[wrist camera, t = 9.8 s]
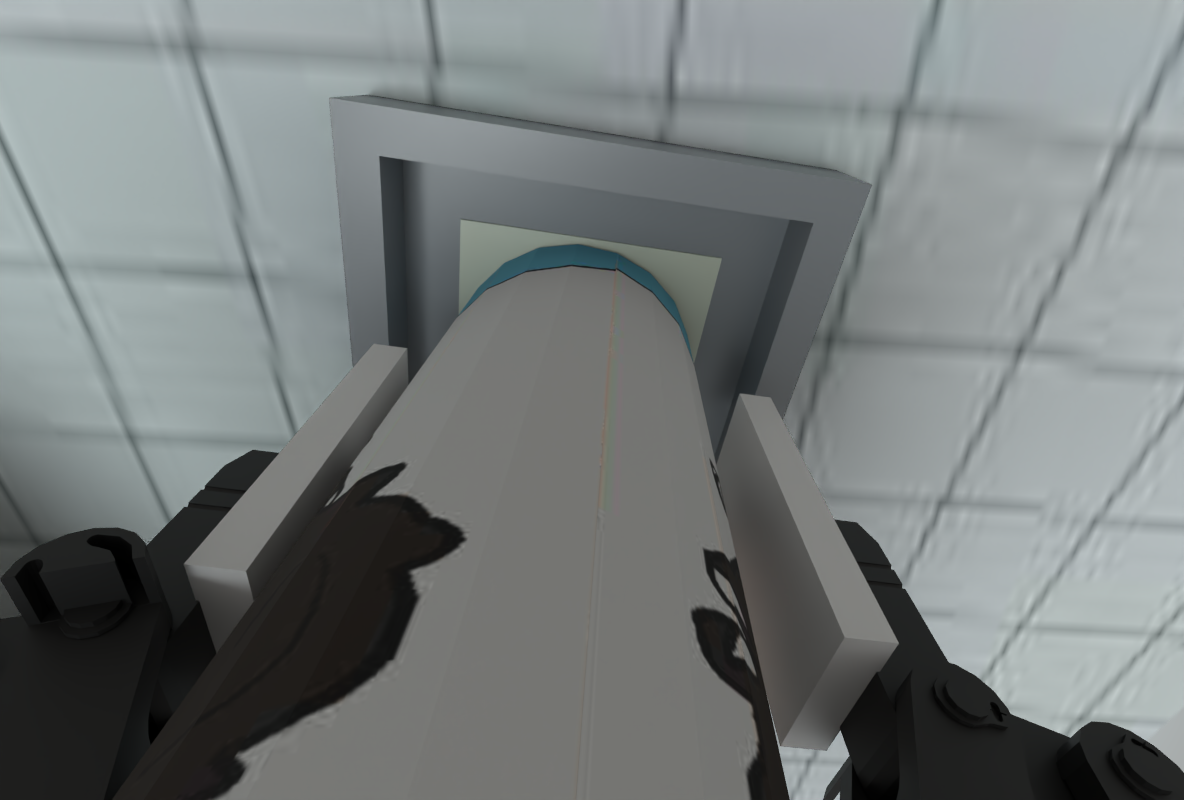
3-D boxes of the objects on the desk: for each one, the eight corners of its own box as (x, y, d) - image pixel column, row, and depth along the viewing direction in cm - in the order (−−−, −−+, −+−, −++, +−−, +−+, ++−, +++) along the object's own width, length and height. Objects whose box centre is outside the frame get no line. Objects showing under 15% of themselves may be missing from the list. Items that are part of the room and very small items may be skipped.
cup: (418, 369, 17) (-301, 1368, 4) (550, 188, 14) (-603, 1828, 1) (590, 485, 19) (500, 1414, 6) (738, 347, 16) (1236, 1604, 3)
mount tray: (389, 475, 20) (366, 517, 18) (367, 94, 14) (329, 97, 12) (717, 515, 20) (728, 560, 18) (836, 170, 14) (872, 184, 12)
